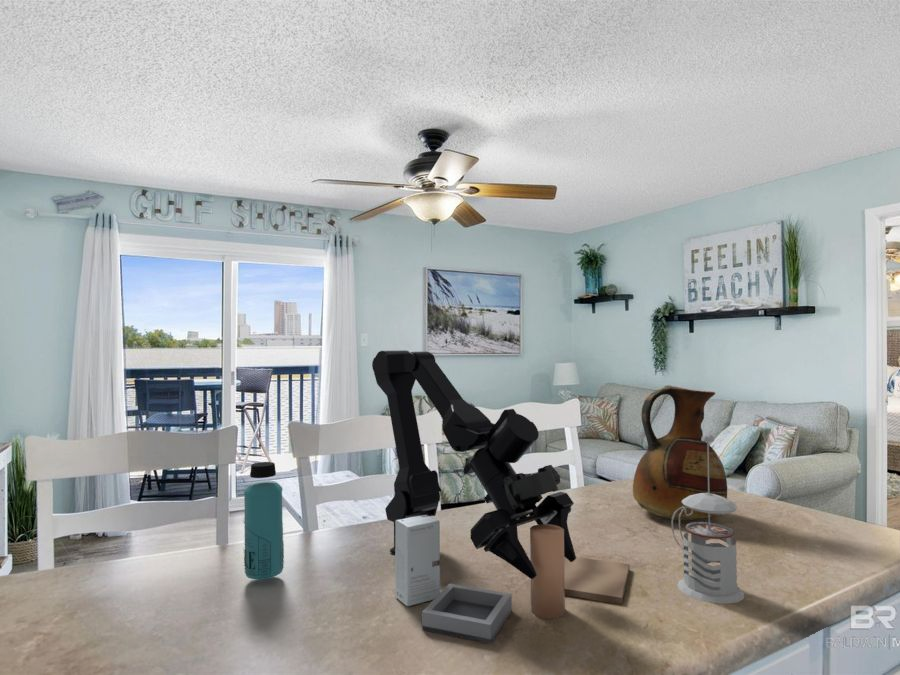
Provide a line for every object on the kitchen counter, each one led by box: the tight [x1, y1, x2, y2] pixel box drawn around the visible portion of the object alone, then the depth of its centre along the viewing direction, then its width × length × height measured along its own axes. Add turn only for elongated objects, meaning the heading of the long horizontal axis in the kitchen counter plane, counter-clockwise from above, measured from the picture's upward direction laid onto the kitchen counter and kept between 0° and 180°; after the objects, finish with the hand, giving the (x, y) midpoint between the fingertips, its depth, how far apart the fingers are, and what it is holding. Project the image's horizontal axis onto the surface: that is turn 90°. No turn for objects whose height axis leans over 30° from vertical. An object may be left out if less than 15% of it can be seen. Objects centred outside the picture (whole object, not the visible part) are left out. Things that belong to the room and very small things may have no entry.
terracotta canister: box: [529, 524, 566, 620], centre depth 83 cm, size 5×5×12 cm
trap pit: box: [421, 583, 513, 645], centre depth 80 cm, size 10×10×2 cm
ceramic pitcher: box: [632, 384, 728, 521], centre depth 129 cm, size 20×20×30 cm
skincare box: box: [394, 515, 441, 607], centre depth 88 cm, size 6×4×12 cm
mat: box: [564, 556, 630, 605], centre depth 94 cm, size 14×14×1 cm
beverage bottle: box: [242, 461, 285, 580], centre depth 95 cm, size 6×7×20 cm
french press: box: [671, 433, 745, 605], centre depth 90 cm, size 10×12×25 cm
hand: (554, 568), depth 82 cm, fingers open, 9 cm apart
